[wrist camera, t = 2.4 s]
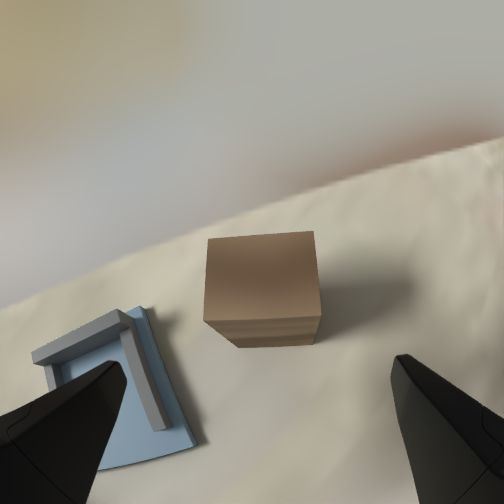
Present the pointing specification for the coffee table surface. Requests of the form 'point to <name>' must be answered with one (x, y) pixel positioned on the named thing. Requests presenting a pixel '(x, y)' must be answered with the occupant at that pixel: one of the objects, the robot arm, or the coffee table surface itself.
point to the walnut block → (263, 289)
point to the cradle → (138, 384)
